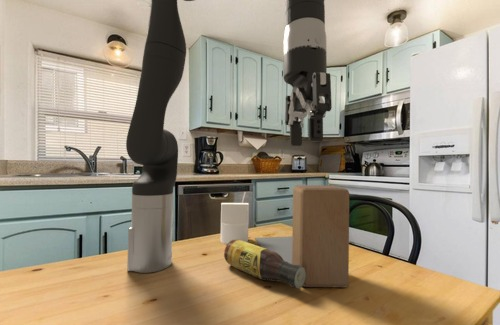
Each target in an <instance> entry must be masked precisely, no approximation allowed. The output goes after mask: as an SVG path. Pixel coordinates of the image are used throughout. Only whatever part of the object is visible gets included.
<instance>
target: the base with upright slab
mask: <svg viewBox="0 0 500 325" xmlns="http://www.w3.org/2000/svg"><path fill="white" fill-rule="evenodd" d="M220 205H221V207H220V243H222V244H223V245H227V244H228V243H229V242H230V241H232V240H241V241H244V242H248V243H249V220H250V218H249V217H250V216H249V215H250V213H249V212H250V210H249V209H250V206H249V205H250V203H249V202H221V203H220Z"/></svg>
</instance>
